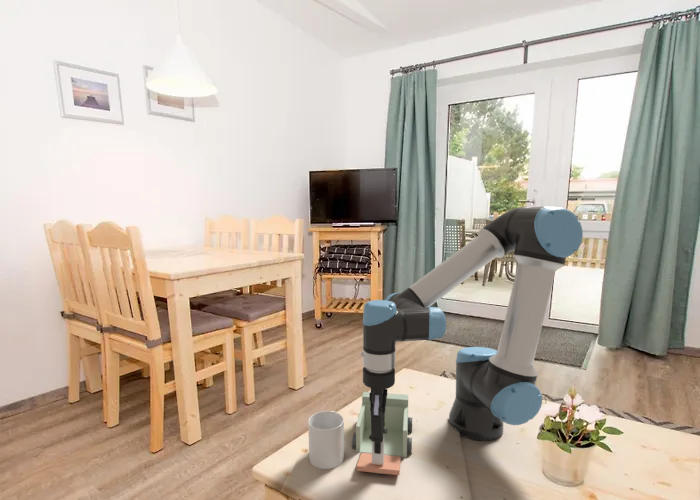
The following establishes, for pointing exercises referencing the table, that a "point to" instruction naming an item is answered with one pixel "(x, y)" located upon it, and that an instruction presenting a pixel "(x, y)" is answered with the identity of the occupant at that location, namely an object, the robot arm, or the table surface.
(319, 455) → the mug
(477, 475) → the table surface
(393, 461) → the panel
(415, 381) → the table surface
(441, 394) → the table surface
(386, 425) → the truck bed
